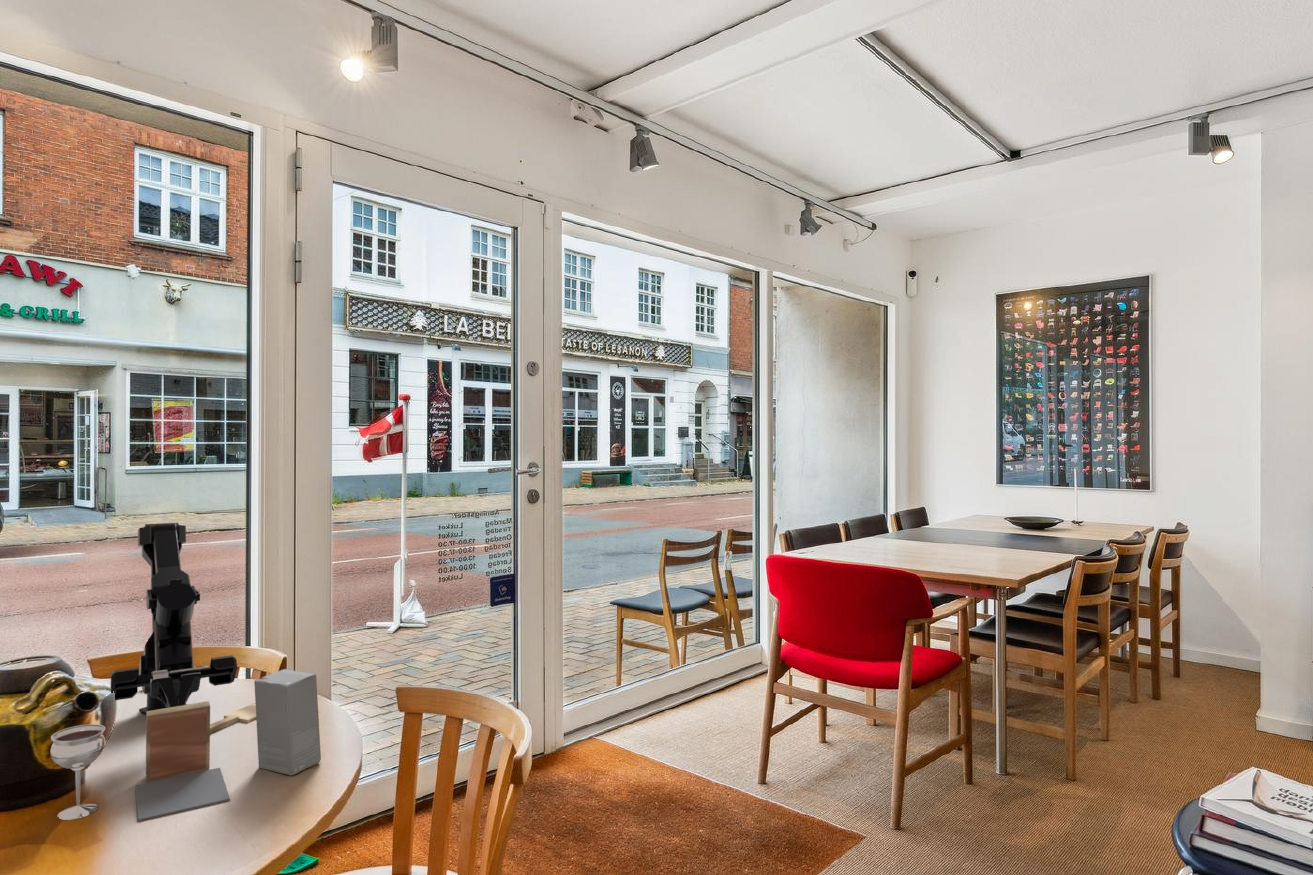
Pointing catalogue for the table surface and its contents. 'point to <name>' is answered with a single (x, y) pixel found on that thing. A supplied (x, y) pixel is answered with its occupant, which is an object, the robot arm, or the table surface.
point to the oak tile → (177, 741)
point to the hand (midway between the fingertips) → (177, 721)
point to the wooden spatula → (235, 718)
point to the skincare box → (287, 721)
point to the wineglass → (78, 759)
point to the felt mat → (180, 793)
